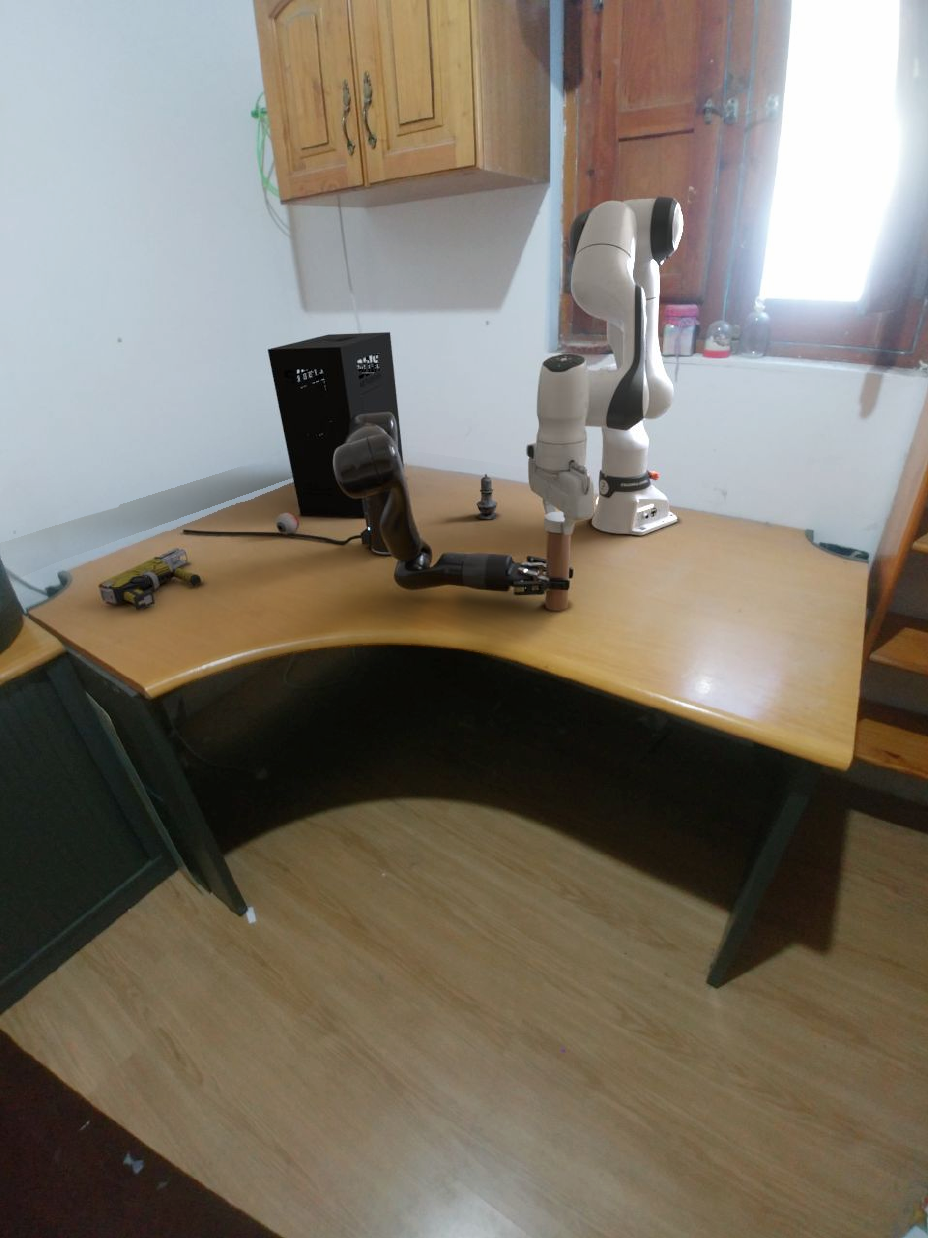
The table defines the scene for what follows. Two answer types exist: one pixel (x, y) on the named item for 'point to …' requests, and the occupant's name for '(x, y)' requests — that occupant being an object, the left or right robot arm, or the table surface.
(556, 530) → the lid
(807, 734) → the table surface
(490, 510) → the grey stone chess piece
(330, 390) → the cardboard box
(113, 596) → the toy gun
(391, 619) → the table surface
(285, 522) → the eyeball
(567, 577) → the tan cylinder
